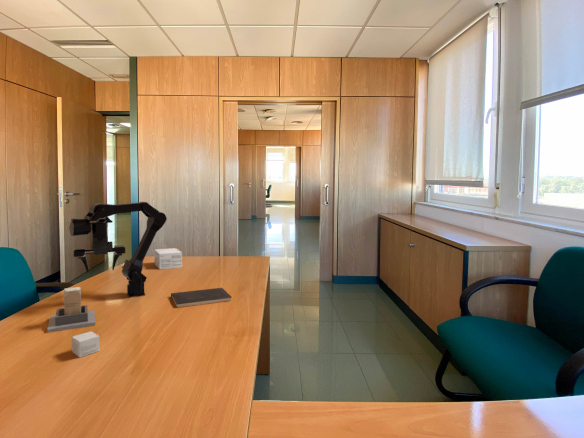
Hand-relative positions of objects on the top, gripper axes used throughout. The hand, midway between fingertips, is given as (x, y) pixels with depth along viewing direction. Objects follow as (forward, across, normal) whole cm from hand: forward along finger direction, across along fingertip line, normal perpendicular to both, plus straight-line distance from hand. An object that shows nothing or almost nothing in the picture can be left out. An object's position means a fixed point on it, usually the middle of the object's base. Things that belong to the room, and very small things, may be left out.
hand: (100, 271), depth 150 cm
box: (+12, -10, -20) cm, 25 cm away
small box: (+13, -6, -48) cm, 50 cm away
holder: (+13, -10, -20) cm, 26 cm away
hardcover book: (+14, +38, -14) cm, 43 cm away
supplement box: (+13, +38, +57) cm, 70 cm away
